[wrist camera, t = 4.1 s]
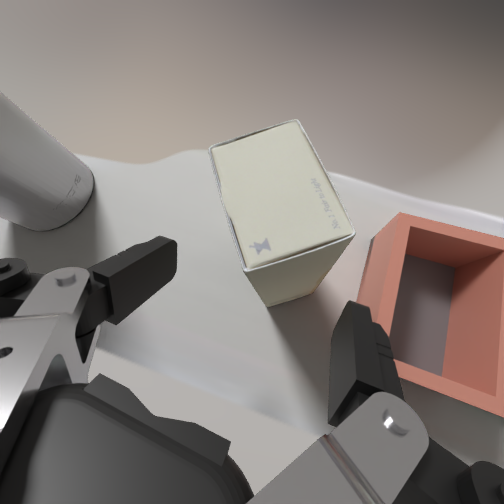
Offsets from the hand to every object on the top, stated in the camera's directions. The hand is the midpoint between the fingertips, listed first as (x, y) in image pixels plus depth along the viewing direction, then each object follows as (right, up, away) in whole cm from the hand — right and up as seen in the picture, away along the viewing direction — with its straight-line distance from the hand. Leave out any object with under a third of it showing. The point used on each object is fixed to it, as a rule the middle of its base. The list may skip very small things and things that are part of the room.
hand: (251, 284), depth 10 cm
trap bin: (+12, -3, +8) cm, 15 cm away
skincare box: (+2, 0, +10) cm, 11 cm away
